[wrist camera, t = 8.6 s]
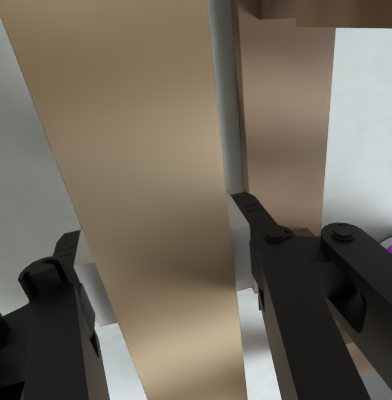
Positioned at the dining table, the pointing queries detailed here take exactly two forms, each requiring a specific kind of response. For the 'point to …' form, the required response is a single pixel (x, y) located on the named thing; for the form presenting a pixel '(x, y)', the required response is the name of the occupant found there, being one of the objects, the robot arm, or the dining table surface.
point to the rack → (292, 105)
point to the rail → (143, 176)
